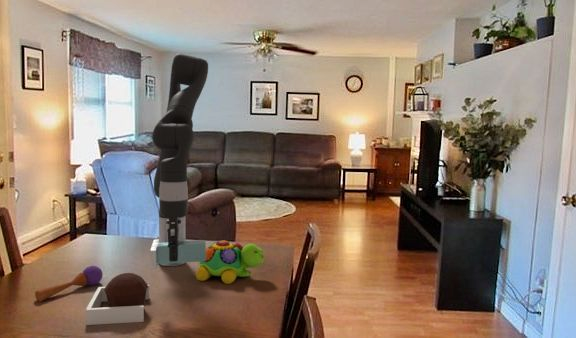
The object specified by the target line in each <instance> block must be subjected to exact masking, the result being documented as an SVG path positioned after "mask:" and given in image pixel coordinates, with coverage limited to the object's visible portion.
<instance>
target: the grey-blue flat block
mask: <svg viewBox="0 0 576 338" xmlns="http://www.w3.org/2000/svg"><path fill="white" fill-rule="evenodd" d="M171 243H176V242H171ZM178 245H179V247H178V260H177V261H176V262H170V261H169V248H168V242H164V243H159V239H157V238H156V239H153V241H152V244H151V248H150V250H149V254H150V258H149V259H150V269H151V270H156V269H158V265H160V264H169V263H184V262H185V263H196V262H198V263H199V261H206V248H207V245H206V240H205V239H199V240H197V239H196V240H185V241H181V242H178ZM185 263H184V264H185Z"/></svg>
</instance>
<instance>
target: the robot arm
mask: <svg viewBox="0 0 576 338" xmlns="http://www.w3.org/2000/svg"><path fill="white" fill-rule="evenodd" d="M208 73H209V63H208V61H207V60H206V59H203V58H201V57H197V56H192V55H189V54H184V53H177V54H175V55H174V57H173V60H172V64H171V70H170V80H169V81H170V82H169V83H170V84H169V94H168V100H167V108H166V112H165V114H164V115H163V116H162V117H161V119H160V120H158V122H157V123H156V124H155V126H154V129H153V131H152V138H151V139H152V142H153V143H152V144H153V145H154V146H155V147H156V148H157V149H159V150H160V153H159V158H158V162H157V166H156V169H155V174H154V179H153V192H154V195H155V196H156V197H157V198H159V201H158V202H159V204H158V206H159V208H158V209H159V210H158V226H159V227H158V236H157V237H156V239H159V243H164V242H168V248H169V261H170V262H176V261H177V260H178V247H179V245H178V242H181V241H186V215H187V214H188V213H189V211H188V210H189V194H188V193H189V188H188V160H189V155H190V152H191V148H192V146H193V142H194V136H195V135H194V130H193V127H194V123H193V119H192V118H193V114H194V110H195V107H196V104H197V102H198V100H199V97H200V96H201V94H202V91H203V89H204V87H205V85H206V81H207V78H208ZM181 85H184V86H187V87H185V88H184V89H182V88H181V87H182V86H181ZM171 242H176V243H171ZM185 263H186V262H184V263H169V264H159V265H160V266H163V267H177V266H182V265H184V264H185Z"/></svg>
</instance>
